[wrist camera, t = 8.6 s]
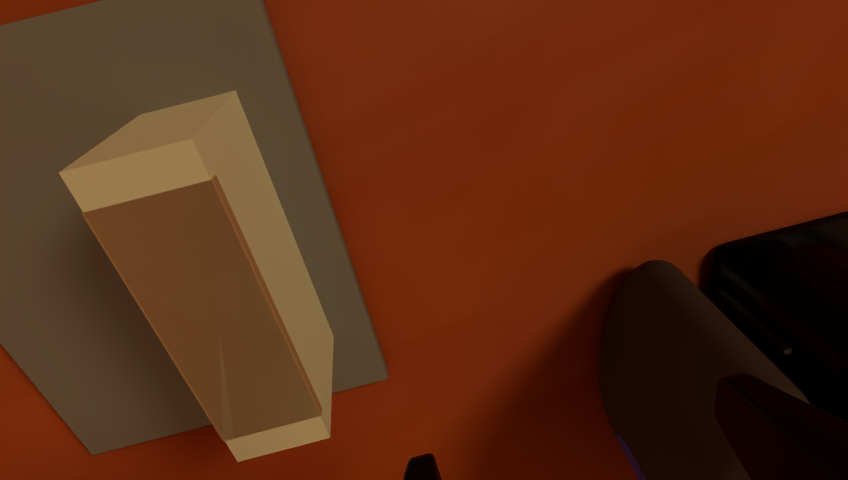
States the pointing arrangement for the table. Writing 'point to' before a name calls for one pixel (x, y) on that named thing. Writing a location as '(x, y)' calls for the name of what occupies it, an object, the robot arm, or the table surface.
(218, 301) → the block
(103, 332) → the mat
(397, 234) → the table surface
